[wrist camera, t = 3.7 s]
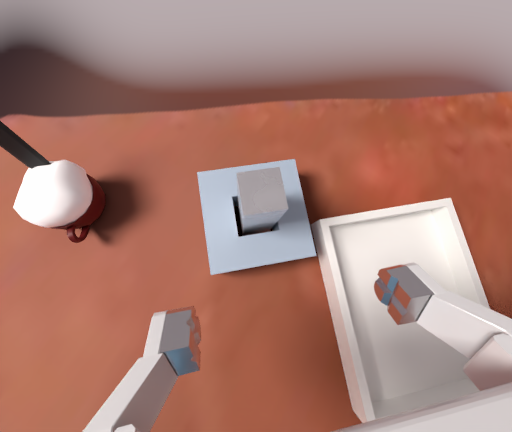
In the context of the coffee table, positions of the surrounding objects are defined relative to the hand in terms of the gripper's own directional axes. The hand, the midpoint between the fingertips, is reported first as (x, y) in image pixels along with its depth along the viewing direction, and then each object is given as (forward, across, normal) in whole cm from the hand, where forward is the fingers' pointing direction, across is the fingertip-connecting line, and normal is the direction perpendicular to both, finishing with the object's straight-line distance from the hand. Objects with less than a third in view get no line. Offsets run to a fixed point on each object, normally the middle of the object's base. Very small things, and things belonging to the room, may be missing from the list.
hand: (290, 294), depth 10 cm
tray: (+7, -14, +14) cm, 21 cm away
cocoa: (+19, +18, +3) cm, 26 cm away
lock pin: (+15, 0, +6) cm, 16 cm away
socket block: (+15, 0, +6) cm, 16 cm away
